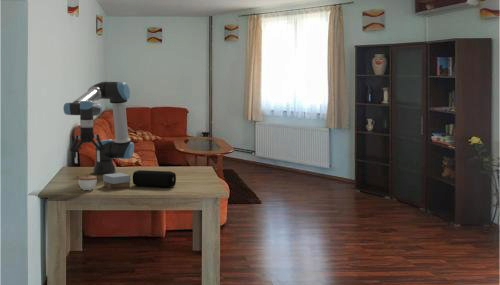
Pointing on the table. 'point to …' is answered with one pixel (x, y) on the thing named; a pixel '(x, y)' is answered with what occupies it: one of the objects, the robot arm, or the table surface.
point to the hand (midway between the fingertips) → (87, 162)
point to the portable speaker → (154, 178)
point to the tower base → (117, 185)
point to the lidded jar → (87, 182)
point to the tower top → (116, 178)
